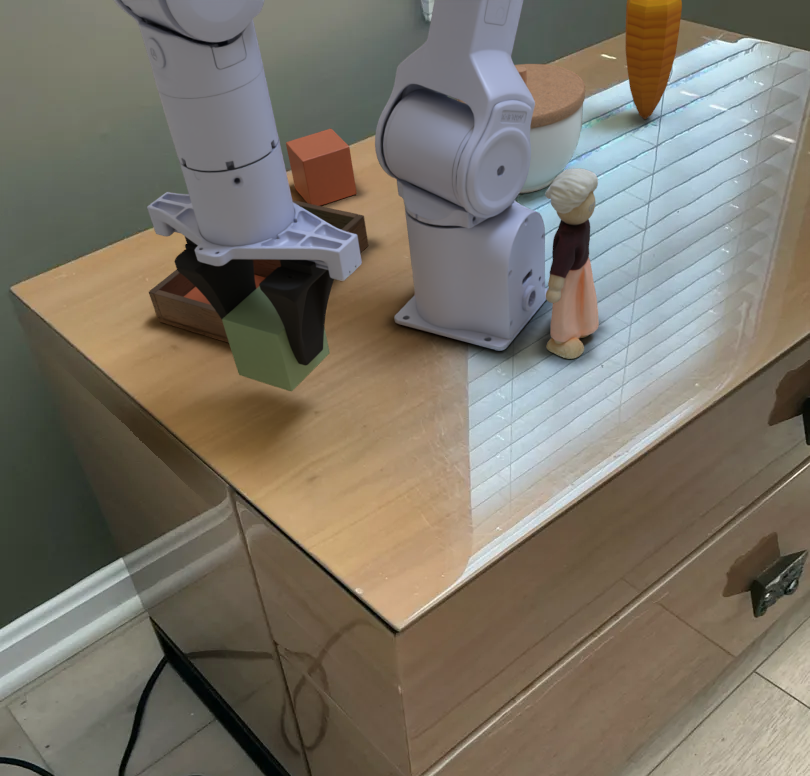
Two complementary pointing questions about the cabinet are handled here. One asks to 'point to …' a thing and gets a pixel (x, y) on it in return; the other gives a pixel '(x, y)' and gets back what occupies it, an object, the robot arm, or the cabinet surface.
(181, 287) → the sorting tray
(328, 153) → the terracotta block
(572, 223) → the grandmother figurine
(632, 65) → the carrot
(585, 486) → the cabinet surface
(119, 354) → the cabinet surface
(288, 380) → the sage block
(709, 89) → the cabinet surface
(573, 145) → the trinket box
